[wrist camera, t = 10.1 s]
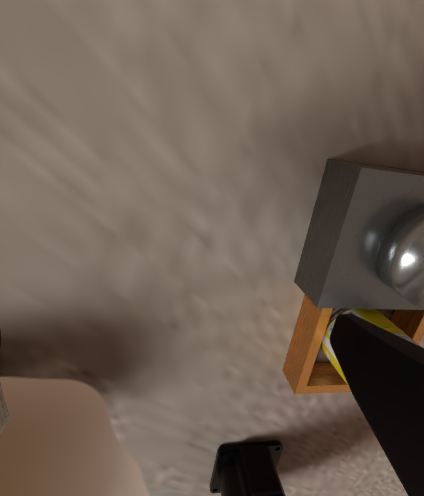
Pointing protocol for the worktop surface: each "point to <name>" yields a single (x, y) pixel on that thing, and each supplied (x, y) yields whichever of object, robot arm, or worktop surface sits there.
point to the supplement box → (3, 412)
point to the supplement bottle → (365, 314)
